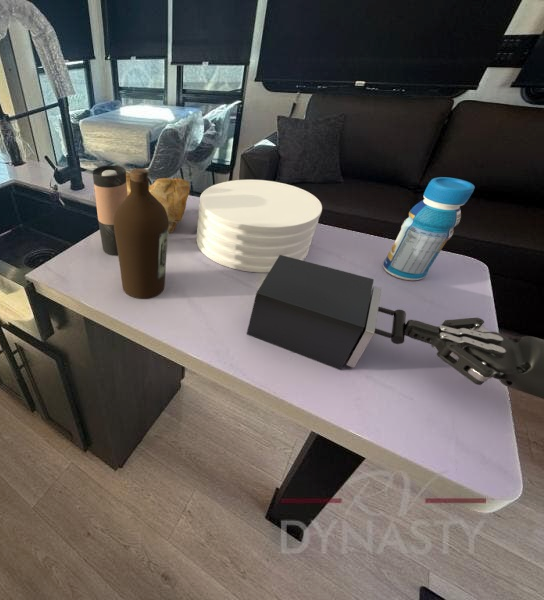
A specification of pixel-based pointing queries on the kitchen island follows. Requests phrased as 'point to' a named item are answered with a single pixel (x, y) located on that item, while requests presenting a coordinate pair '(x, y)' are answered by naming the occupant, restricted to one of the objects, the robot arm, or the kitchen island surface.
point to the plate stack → (256, 223)
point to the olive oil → (141, 239)
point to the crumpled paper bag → (169, 197)
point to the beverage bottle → (427, 228)
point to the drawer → (369, 329)
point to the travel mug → (109, 201)
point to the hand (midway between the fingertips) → (405, 326)
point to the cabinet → (311, 310)
